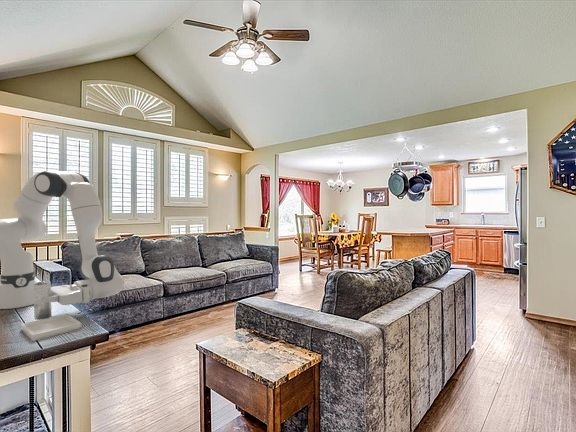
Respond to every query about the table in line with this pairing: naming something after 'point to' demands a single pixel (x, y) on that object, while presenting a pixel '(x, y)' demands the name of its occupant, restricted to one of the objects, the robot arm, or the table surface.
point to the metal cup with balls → (40, 308)
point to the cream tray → (50, 327)
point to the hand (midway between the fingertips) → (39, 298)
